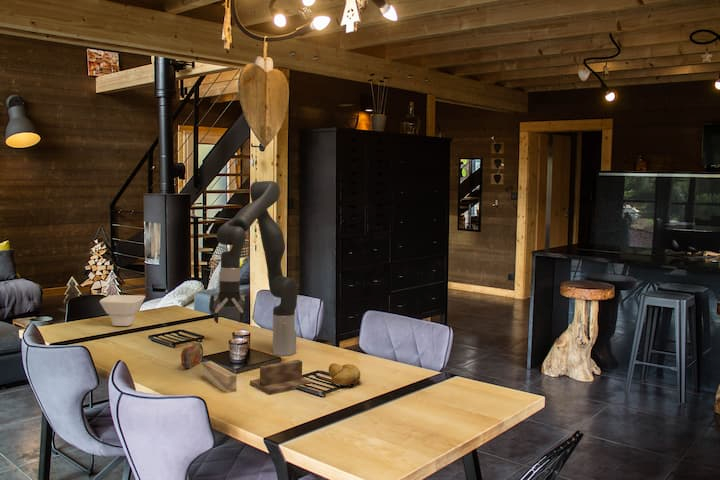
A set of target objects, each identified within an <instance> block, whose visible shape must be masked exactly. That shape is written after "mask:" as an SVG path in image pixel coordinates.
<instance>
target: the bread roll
mask: <svg viewBox="0 0 720 480" xmlns="http://www.w3.org/2000/svg"><path fill="white" fill-rule="evenodd" d="M328 375H329V377H331V380H332V384H333V383H336V384H341V385H349V386H351V385H350V384H352V383H353V384H354V385H357V384H358V382H359V381H360V379H361V370H359V368H358V366H357V365H355V364H349V363H348V364H343V365H341V364H337V363H331V364H329V366H328Z"/></svg>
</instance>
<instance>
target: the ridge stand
mask: <svg viewBox="0 0 720 480" xmlns="http://www.w3.org/2000/svg"><path fill="white" fill-rule="evenodd" d="M311 383H313V381H311V380H310V379H307V378H304V377H303V361H302V360H300V359H294V360H289V361H282V362H278V363H272V364H264V365H260V366H259V378H257V379H256V378H255V379H251V380H249V385H250V386H252V387H253V388H256V389H257V390H260V391H261V392H263V393H265V394H267V395H275V394H276V395H277V394H279V393H285V392H290V391H294V390H295V391H296V390H297V389H296V388H297V387H298V386H300V385H306V384H311Z"/></svg>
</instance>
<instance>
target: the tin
mask: <svg viewBox="0 0 720 480" xmlns="http://www.w3.org/2000/svg"><path fill="white" fill-rule="evenodd" d="M203 357H204V349H203V345H202V344H201V342H195V343H193V342H192V343H191V344H189V345H187V346H186V347H184V348H183V349H182V351H181V353H180V358H181V359H180V361H181V366H182V368H183V369H193V368H194V367H196V366H198V365H199V364H201V363H202V360H203Z"/></svg>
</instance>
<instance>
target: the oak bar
mask: <svg viewBox="0 0 720 480" xmlns="http://www.w3.org/2000/svg"><path fill="white" fill-rule="evenodd" d="M201 378H202V379H204V380H205V381H207V382H209V383H210V384H211V385H213V384H214V385H213V386H215V387H217V388H218V389H220V390H222V391H224V393H227V394H230V393H235V392H237V385H238V384H237V383H238V382H237V374H236V373H233V372H232V371H231V370H228V369H226V368H224V367H223V366H220V364H219V365H218V364H216V362H213V361H212V360H208V361H201Z"/></svg>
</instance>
